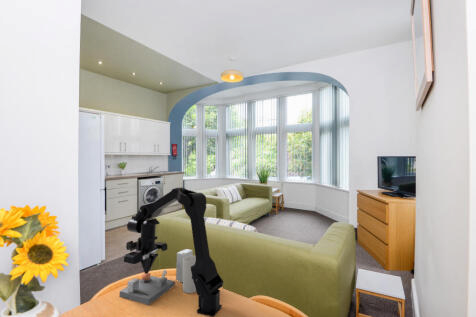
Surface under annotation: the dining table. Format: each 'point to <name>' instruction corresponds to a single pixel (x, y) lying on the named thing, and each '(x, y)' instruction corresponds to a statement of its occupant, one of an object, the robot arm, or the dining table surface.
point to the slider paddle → (133, 285)
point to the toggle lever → (163, 276)
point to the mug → (188, 274)
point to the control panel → (148, 290)
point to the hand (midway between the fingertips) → (146, 273)
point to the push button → (145, 276)
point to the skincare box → (181, 263)
